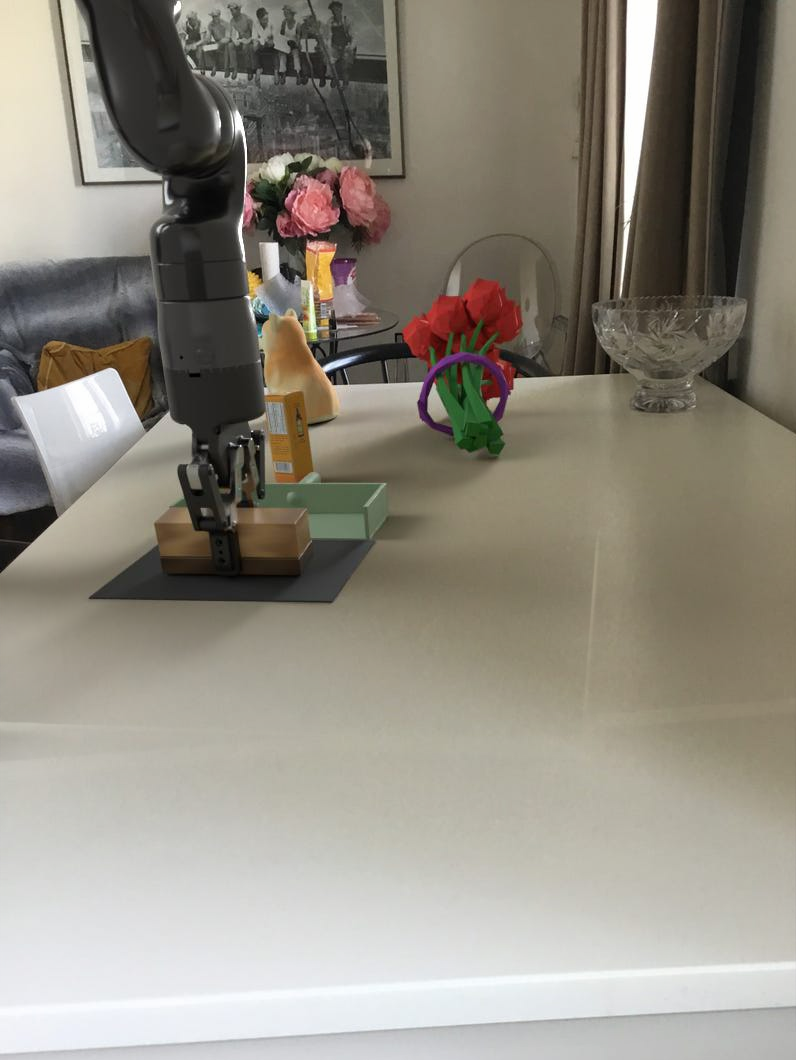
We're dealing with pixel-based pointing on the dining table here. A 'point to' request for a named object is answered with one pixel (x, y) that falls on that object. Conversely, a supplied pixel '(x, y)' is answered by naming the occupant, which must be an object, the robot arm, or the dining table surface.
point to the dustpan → (329, 506)
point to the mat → (242, 579)
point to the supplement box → (288, 435)
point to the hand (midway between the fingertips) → (238, 564)
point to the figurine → (296, 366)
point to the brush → (264, 540)
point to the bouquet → (467, 361)
